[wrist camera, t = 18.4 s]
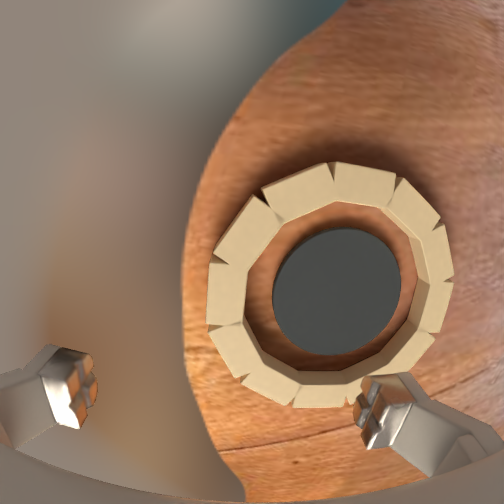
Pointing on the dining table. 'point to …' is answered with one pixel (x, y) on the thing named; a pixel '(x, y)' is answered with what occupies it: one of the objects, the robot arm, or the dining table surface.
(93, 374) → the robot arm
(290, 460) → the dining table surface
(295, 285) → the coaster
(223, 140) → the dining table surface
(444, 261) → the hoop
